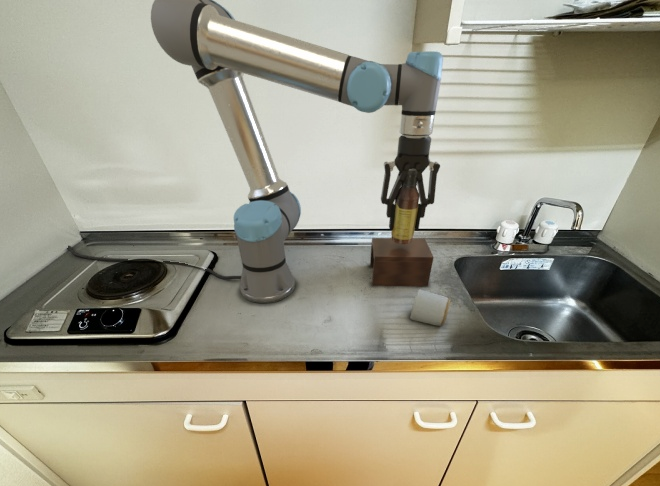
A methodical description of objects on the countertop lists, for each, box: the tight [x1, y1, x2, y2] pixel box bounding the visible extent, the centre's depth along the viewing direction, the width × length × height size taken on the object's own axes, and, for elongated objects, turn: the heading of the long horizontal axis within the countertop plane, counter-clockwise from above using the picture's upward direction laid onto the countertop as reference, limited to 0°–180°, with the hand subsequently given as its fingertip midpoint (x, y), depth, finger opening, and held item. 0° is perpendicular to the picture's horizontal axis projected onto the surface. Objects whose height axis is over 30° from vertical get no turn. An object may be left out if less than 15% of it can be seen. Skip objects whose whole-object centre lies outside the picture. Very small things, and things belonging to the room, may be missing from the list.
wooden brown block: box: [369, 237, 435, 287], centre depth 93 cm, size 16×12×10 cm
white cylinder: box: [409, 289, 451, 327], centre depth 78 cm, size 11×8×8 cm
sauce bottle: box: [390, 169, 420, 244], centre depth 84 cm, size 7×6×20 cm
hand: (403, 228), depth 87 cm, fingers closed on sauce bottle, 6 cm apart
